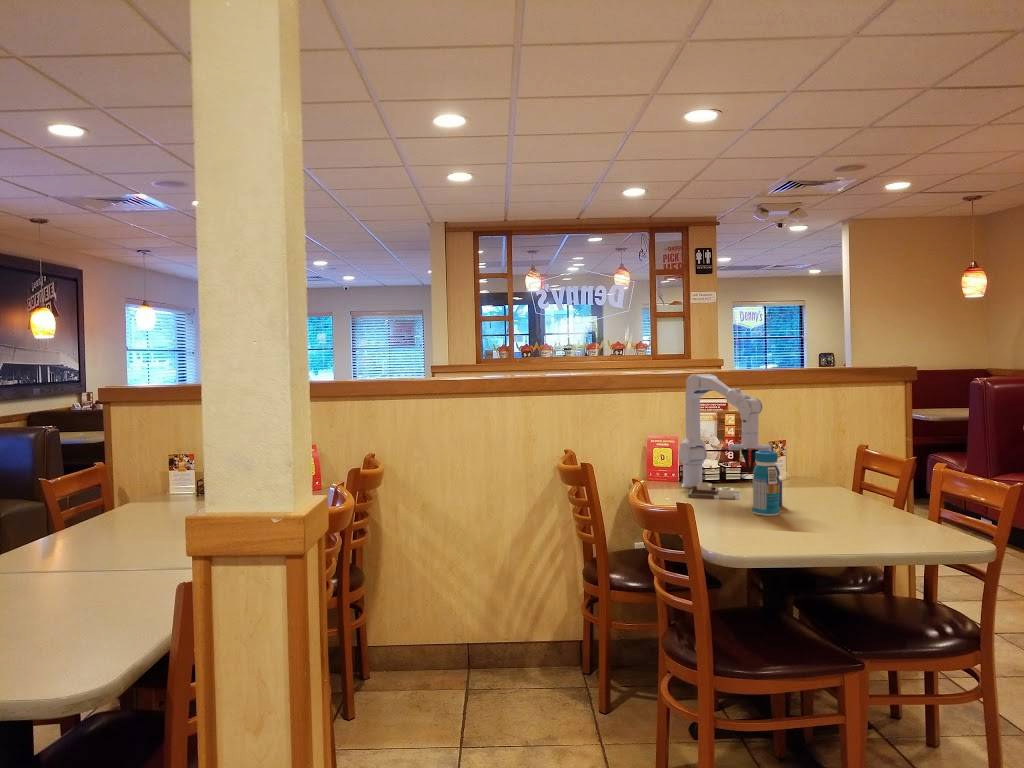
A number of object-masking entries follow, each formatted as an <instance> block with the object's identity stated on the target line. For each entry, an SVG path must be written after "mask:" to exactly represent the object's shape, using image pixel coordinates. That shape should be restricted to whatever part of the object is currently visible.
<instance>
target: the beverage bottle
mask: <svg viewBox="0 0 1024 768" xmlns="http://www.w3.org/2000/svg"><path fill="white" fill-rule="evenodd" d="M778 459H779V458H778V452H777V451H773V450H772V451H757V452H756V453H755V463H757V464H756V465H755V466H754V467H753V470H752V474H753V477H752V480H751V481H752V505H753V506H752V513H753V514H755V515H757V516H763V517H775V516H779V515H780V506H779V486H780V480H781V479H780V474H781V473H780V469H779V468H778V466H777V465H776V464H777V463H778Z"/></svg>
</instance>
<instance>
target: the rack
mask: <svg viewBox="0 0 1024 768" xmlns="http://www.w3.org/2000/svg"><path fill="white" fill-rule="evenodd" d="M740 492H741V491H737V490H736V491H734V496H733V498H719V487H718V486H712V490H697V486H692V487H691V488H690V489H689V490H688V492H687V494H686V495H687V496H686V498H687V499H706V500H728V501H740V494H741V493H740Z"/></svg>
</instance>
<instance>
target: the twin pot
mask: <svg viewBox="0 0 1024 768" xmlns="http://www.w3.org/2000/svg"><path fill="white" fill-rule="evenodd" d="M712 487H713V486H712V482H711V483H710V482H703V481H702V483H698V484H697V490H712Z"/></svg>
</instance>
